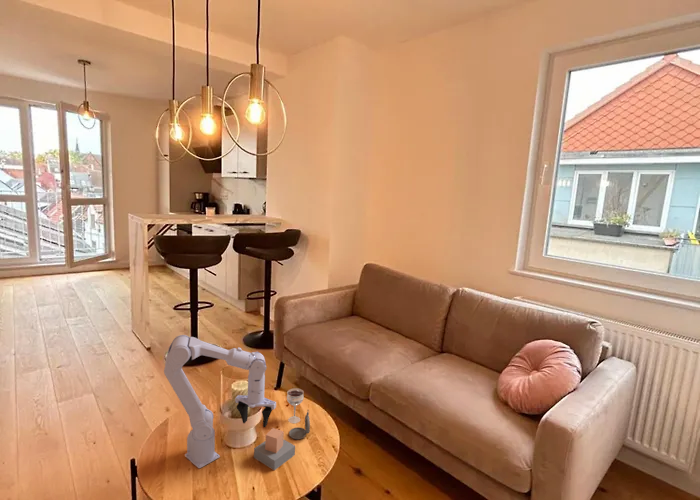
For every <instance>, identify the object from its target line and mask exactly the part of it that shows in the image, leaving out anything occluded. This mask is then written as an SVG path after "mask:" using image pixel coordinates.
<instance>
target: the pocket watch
mask: <svg viewBox="0 0 700 500" xmlns="http://www.w3.org/2000/svg"><path fill="white" fill-rule="evenodd" d="M309 414H310V412H309V409H307V411H306V415H305V417H304V428H303V427H293V428H292V429H290V430H289V433H288V435H289V437H290V438H292V439H293V440H300V439H301V440H302V439H304V438H305V437H306V436H307V434H310V430H311V425H310V424H311V423H310V422H311V421H310V416H309Z"/></svg>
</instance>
